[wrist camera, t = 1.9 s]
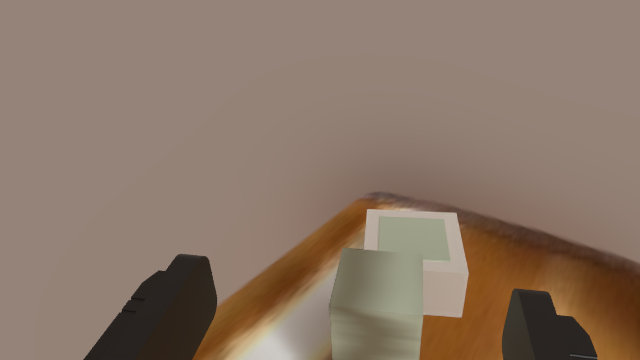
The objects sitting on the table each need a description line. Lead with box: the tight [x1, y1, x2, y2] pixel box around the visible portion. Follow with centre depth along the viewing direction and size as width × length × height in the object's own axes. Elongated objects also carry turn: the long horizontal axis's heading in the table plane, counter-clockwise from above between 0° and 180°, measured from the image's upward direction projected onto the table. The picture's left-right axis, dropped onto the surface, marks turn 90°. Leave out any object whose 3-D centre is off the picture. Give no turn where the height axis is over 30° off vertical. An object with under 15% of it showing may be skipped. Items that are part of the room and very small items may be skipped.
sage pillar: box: [329, 248, 423, 360], centre depth 29 cm, size 5×5×10 cm
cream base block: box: [364, 209, 469, 317], centre depth 39 cm, size 8×8×5 cm
